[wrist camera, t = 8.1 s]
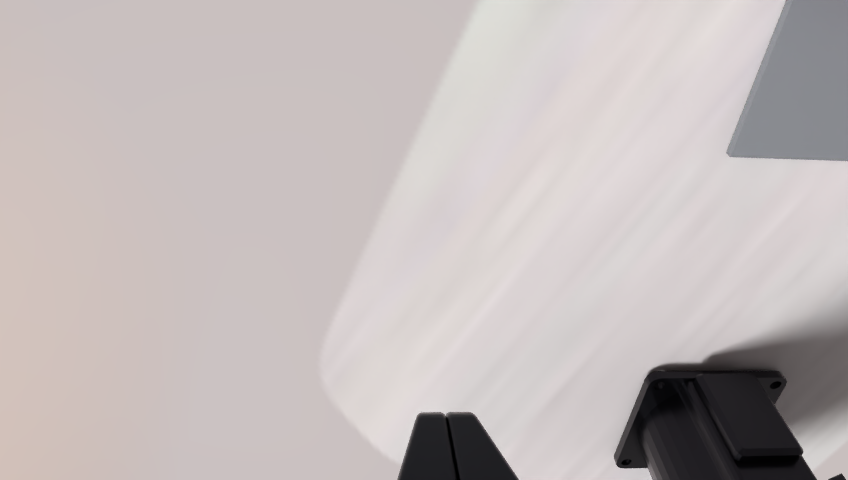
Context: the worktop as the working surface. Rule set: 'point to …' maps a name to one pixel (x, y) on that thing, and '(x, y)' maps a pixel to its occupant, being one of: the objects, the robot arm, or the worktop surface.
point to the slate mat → (800, 88)
